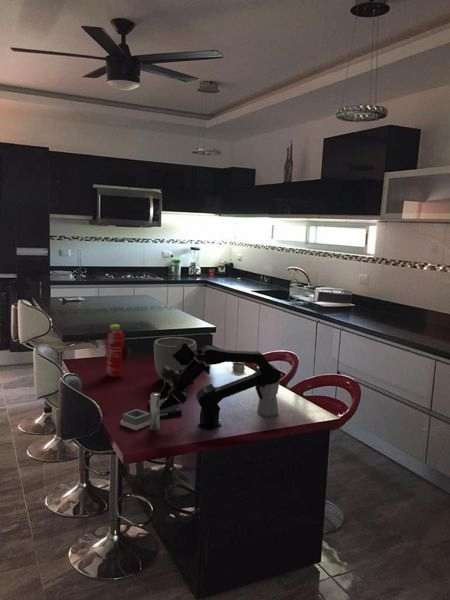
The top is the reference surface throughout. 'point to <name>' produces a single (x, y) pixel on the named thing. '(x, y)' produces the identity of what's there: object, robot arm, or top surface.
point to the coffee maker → (267, 399)
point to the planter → (169, 352)
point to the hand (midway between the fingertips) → (158, 404)
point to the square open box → (136, 419)
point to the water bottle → (115, 351)
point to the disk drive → (168, 410)
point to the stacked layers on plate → (238, 367)
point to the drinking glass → (155, 412)
